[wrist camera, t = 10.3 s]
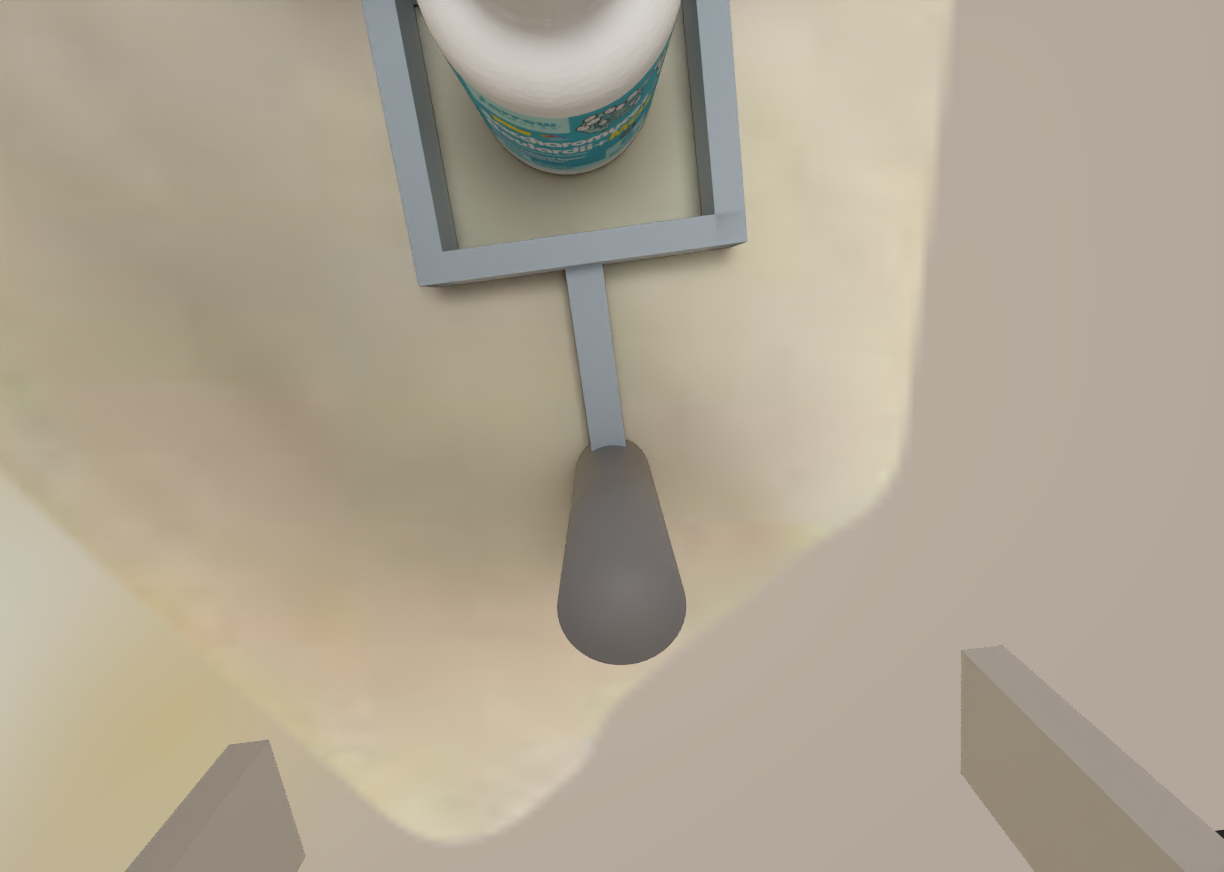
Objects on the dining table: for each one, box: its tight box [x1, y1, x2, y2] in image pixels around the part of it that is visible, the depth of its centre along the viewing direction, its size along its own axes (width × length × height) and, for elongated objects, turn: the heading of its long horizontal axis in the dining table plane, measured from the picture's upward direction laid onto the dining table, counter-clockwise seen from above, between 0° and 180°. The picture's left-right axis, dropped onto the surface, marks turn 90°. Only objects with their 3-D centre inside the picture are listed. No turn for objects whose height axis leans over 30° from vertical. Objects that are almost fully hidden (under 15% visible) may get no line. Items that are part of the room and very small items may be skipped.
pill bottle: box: [417, 0, 681, 175], centre depth 19 cm, size 8×7×14 cm
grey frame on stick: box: [361, 0, 747, 665], centre depth 21 cm, size 24×13×13 cm, turn 8°
